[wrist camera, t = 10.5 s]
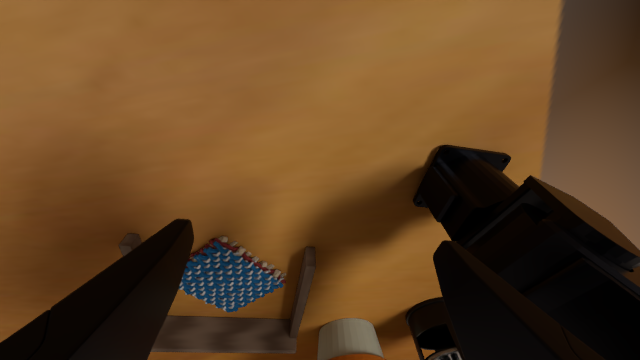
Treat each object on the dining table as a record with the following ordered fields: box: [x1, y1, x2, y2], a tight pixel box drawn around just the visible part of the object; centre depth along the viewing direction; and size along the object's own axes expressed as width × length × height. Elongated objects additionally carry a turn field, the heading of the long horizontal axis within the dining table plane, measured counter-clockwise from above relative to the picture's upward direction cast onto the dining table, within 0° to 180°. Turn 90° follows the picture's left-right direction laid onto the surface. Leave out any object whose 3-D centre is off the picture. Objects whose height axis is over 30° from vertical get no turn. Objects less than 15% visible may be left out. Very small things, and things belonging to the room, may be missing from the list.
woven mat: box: [179, 236, 287, 312], centre depth 29 cm, size 10×11×2 cm
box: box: [119, 234, 316, 353], centre depth 29 cm, size 19×18×4 cm
